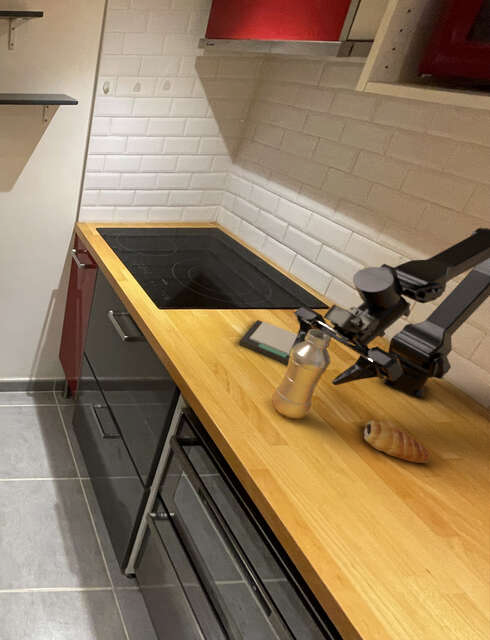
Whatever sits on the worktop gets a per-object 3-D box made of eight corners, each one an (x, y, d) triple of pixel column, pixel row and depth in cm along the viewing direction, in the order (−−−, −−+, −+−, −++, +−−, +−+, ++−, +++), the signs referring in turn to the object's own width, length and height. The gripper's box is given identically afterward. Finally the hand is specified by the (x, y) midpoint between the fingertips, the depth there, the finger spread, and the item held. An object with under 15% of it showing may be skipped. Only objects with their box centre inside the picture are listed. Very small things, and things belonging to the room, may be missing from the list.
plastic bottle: (313, 419, 94) (349, 341, 85) (289, 425, 92) (323, 347, 83) (285, 397, 99) (316, 322, 91) (261, 403, 97) (291, 327, 89)
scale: (256, 323, 125) (258, 317, 124) (316, 347, 116) (319, 341, 115) (238, 344, 116) (240, 338, 115) (302, 371, 107) (305, 365, 106)
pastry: (423, 449, 87) (432, 435, 85) (428, 473, 82) (438, 459, 81) (361, 425, 92) (369, 411, 91) (363, 446, 87) (370, 432, 86)
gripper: (316, 272, 94) (258, 322, 96) (419, 323, 77) (346, 382, 79) (331, 300, 99) (276, 347, 101) (431, 353, 82) (362, 408, 84)
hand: (310, 368), depth 91 cm, fingers open, 9 cm apart
